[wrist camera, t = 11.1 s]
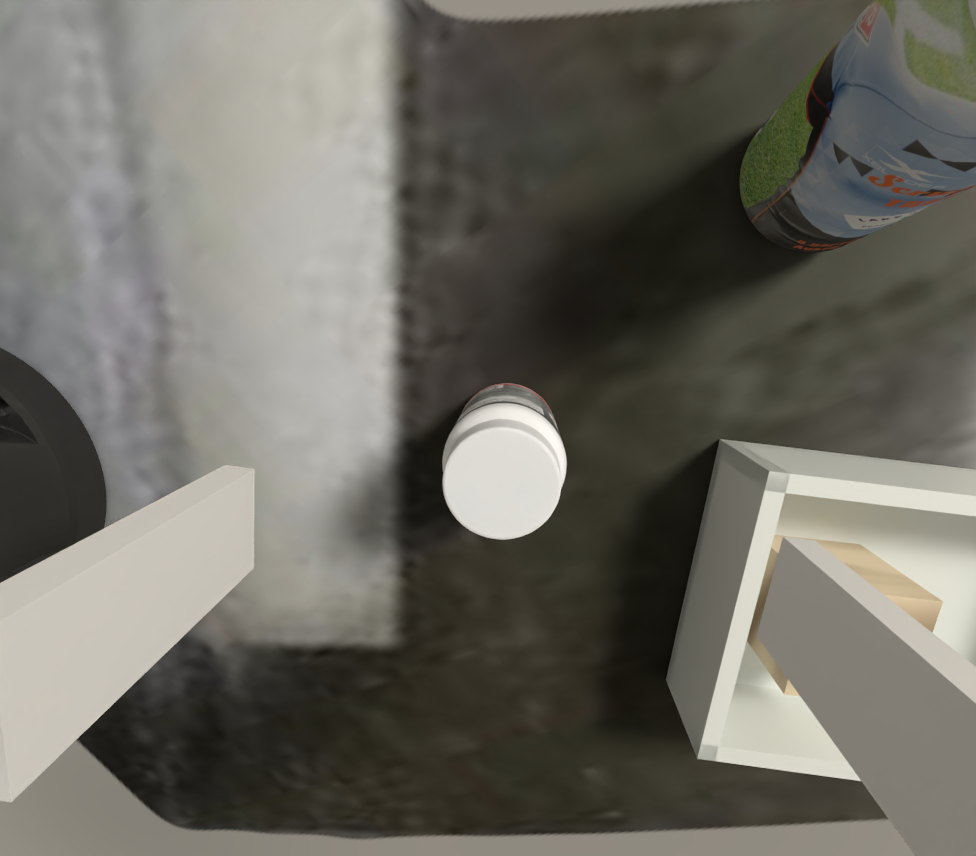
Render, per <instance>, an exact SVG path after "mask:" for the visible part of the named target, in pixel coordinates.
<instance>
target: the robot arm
mask: <svg viewBox="0 0 976 856" xmlns="http://www.w3.org/2000/svg"><path fill="white" fill-rule="evenodd" d="M254 483H255V469H252V468H244V467H236V466H229V465H224V466H222V467H220V468H218V469H216V470H215V471H213V472H211V473H209V474H207V475H205V476H203V477H201V478H199V479H197V480H195V481H194V482H192V483H190V484H188V485H186V486H184V487H182V488H180V489H178V490H176V491H175V492H173V493H171V494H169V495H167V496H165V497H163V498H161V499H159V500H157V501H155V502H154V503H152V504H150V505H148V506H146V507H144V508H142V509H140V510H138V511H136V512H135V513H133V514H131V515H129V516H127V517H125V518H123V519H121V520H119V521H117V522H115V523H114V524H112V525H110V526H108V527H106V528H104V523H105V516H106V490H105V482H104V476H103V472H102V468H101V464H100V461H99V458H98V455H97V452H96V449H95V447H94V445H93V442H92V440H91V438H90V436H89V434H88V432H87V430H86V428H85V427H84V425H83V423H82V421H81V420H80V418H79V417H78V415H77V414H76V412H75V411H74V410H73V408H72V407H71V406H70V404H69V403H68V402H67V401H66V399H65V398H64V397H63V396H62V395H61V393H60V392H59V391H58V390H57V389H56V388H55V387H54V386H53V385H52V384H51V383H50V382H49V381H48V380H46V379H45V378H44V377H43V376H42V375H41V374H40V373H38V372H37V371H36V370H35V369H33V368H32V367H31V366H29V365H28V364H26V363H25V362H24V361H22V360H21V359H19V358H17V357H16V356H14V355H12V354H11V353H9V352H7V351H5V350H3V349H1V348H0V801H4V802H12V801H13V800H14V799H15V798H17V796H19V795H20V794H21V792H23V791H24V790H25V789H26V788H27V787H28V786H29V785H30V784H31V783H32V782H33V781H34V780H35V779H36V778H37V777H38V776H39V775H40V774H41V773H42V772H43V771H44V770H45V769H46V768H48V766H50V764H52V763H53V762H54V761H55V760H56V759H57V758H58V757H59V756H60V755H61V754H62V753H63V752H64V751H65V750H66V749H67V748H68V747H69V746H70V745H71V744H72V743H73V742H74V741H75V740H77V739H78V738H79V737H80V736H81V735H82V734H83V733H84V732H85V731H86V730H87V729H88V728H89V727H90V726H91V725H92V724H93V723H94V722H95V721H96V720H97V719H98V718H99V717H100V716H101V715H102V714H103V713H104V712H105V711H107V710H108V709H109V708H110V707H111V706H112V705H113V704H114V703H115V702H116V701H117V700H118V699H119V698H120V697H121V696H122V695H123V694H124V693H125V692H126V691H127V690H128V689H129V688H130V687H131V686H132V685H133V684H134V683H135V682H137V681H138V680H139V679H140V678H141V677H142V676H143V675H144V674H145V673H146V672H147V671H148V670H149V669H150V668H151V667H152V666H153V665H154V664H155V663H156V662H157V661H158V660H159V659H160V658H161V657H162V656H163V655H164V654H165V653H166V652H168V651H169V650H170V649H171V648H172V647H173V646H174V645H175V644H176V643H177V642H178V641H179V640H180V639H181V638H182V637H183V636H184V635H185V634H186V633H187V632H188V631H189V630H190V629H191V628H192V627H193V626H194V625H195V624H196V623H198V622H199V621H200V620H201V619H202V618H203V617H204V616H205V615H206V614H207V613H208V612H209V611H210V610H211V609H212V608H213V607H214V606H215V605H216V604H217V603H218V602H219V601H220V600H221V599H222V598H223V597H224V596H225V595H226V594H228V593H229V592H230V591H231V590H232V589H233V588H234V587H235V586H236V585H237V584H238V583H239V582H240V581H241V580H242V579H243V578H244V577H245V576H246V575H247V574H248V573H249V572H250V571H251V570H252V569H253V568H254ZM103 528H104V529H103ZM757 637H758V638H759V640H760V641H761V643H762V644H763V645H764V647H765V648H766V649H767V651H768V652H769V654H770V655H771V656H772V658H773V659H774V661H775V662H776V663H777V665H778V666H779V667H780V669H781V670H782V672H783V673H784V674H785V676H786V677H787V679H788V680H789V681H790V683H791V684H792V685H793V687H794V688H795V690H796V691H797V692H798V694H799V695H800V697H801V698H802V699H803V701H804V702H805V703H806V705H807V706H808V708H809V709H810V710H811V712H812V713H813V715H814V716H815V717H816V719H817V720H818V722H819V723H820V724H821V726H822V727H823V728H824V730H825V731H826V733H827V734H828V735H829V737H830V738H831V740H832V741H833V742H834V744H835V745H836V746H837V748H838V749H839V751H840V752H841V753H842V755H843V756H844V758H845V759H846V760H847V762H848V763H849V764H850V766H851V767H852V769H853V770H854V771H855V773H856V774H857V776H858V777H859V778H860V780H861V781H862V782H863V784H864V785H865V787H866V788H867V789H868V791H869V792H870V794H871V795H872V796H873V798H874V799H875V801H876V802H877V803H878V805H879V806H880V807H881V809H882V810H883V812H884V813H885V814H886V816H887V817H888V819H889V820H890V821H891V822H892V824H893V825H894V827H895V828H896V830H897V831H898V832H899V834H900V835H901V836H902V838H903V839H904V841H905V842H906V843H907V845H908V846H909V848H910V849H911V850H912V852H913V853H914V855H915V856H976V667H975V666H974V665H973V664H971V663H970V662H969V661H968V660H966V659H965V658H964V657H963V656H961V655H960V654H959V653H957V652H956V651H955V650H954V649H952V648H951V647H950V646H949V645H947V644H946V643H945V642H943V641H942V640H941V639H940V638H938V637H937V636H936V635H935V634H933V633H932V632H931V631H929V630H928V629H927V628H926V627H924V626H923V625H922V624H921V623H919V622H918V621H917V620H915V619H914V618H913V617H912V616H910V615H909V614H908V613H907V612H905V611H904V610H903V609H901V608H900V607H899V606H898V605H896V604H895V603H894V602H893V601H891V600H890V599H889V598H887V597H886V596H885V595H884V594H882V593H881V592H880V591H879V590H877V589H876V588H875V587H873V586H872V585H871V584H870V583H868V582H867V581H866V580H865V579H863V578H862V577H861V576H859V575H858V574H857V573H856V572H854V571H853V570H852V569H851V568H849V567H848V566H847V565H845V564H844V563H843V562H842V561H840V560H839V559H838V558H837V557H835V556H834V555H833V554H832V553H830V552H829V551H828V550H826V549H825V548H824V547H823V546H821V545H820V544H819V543H818V542H816V541H815V540H807V539H799V538H791V537H784V536H783V538H782V542H781V546H780V549H779V553H778V557H777V561H776V565H775V568H774V572H773V576H772V580H771V584H770V587H769V591H768V595H767V599H766V602H765V606H764V610H763V614H762V618H761V621H760V625H759V629H758V633H757Z"/></svg>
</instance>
